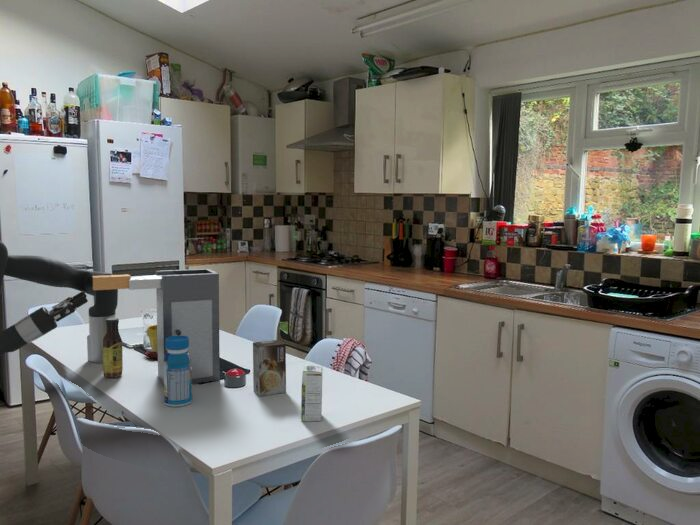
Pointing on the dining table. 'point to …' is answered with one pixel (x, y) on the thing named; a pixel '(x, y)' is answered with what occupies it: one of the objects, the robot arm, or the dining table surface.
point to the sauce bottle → (112, 350)
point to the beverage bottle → (177, 372)
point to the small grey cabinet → (190, 319)
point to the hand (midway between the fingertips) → (85, 296)
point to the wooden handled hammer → (126, 282)
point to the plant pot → (153, 337)
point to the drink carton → (311, 393)
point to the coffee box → (269, 367)
